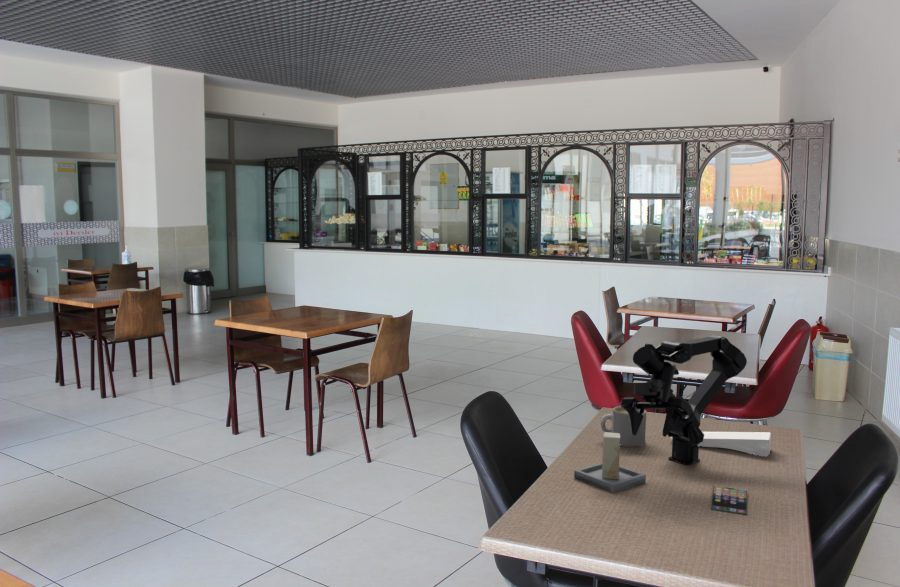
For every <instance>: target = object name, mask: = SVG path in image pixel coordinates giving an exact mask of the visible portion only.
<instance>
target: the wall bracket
mask: <svg viewBox="0 0 900 587" xmlns="http://www.w3.org/2000/svg"><path fill="white" fill-rule="evenodd" d="M701 431H702V430H701ZM702 433H703V434H704V438H703V442H700V444H698V447H700V446H702V447H703V448H705V447H706V448H721V449H728V450H734V451H738V452H743V453H745V454H749V455H752V454H753V455H752V456H757V455H759V456H758V457H763V456H765V457H764V458H766V457H768V456H769V455H770V452H771V448H772V434H771V432H769V431H768V432H764V431H763V432H762V431H760V432H759V431H757V432H755V431H702ZM669 438H670V439H669V440H670V442H671V441H673V437H669ZM702 447H701V448H702Z"/></svg>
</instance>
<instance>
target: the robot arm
mask: <svg viewBox="0 0 900 587" xmlns="http://www.w3.org/2000/svg"><path fill="white" fill-rule="evenodd" d="M708 353H709V354H710V357H712V361H711V364H712V365H711V366H712V369H711V371H710V372H709V373H708V375H707V376H706V377H705V378H704V380H703V381H702V382H701V384H700V385H699V386H698V388H697V389H696V390H695V391H694V393H693V394H692V395H691V396H690V397H689V399H688V401H687V400H686V399H685V398H683V396H670V394H671V395H673V394H674V390H673V388H672V385H673V380H674V376H678V375H679V374H680V371H679V370H678V368H677V367H676V364H678V365H679V364H680V365H682V364H684V363H686V362H688V361H690V360H691V359H692V357H694V356H698V355H699V356H700V355H703V354H708ZM632 362H633V363H634V364H635V365H636V366H637V367H639V368H640V369H641V370H642V371H643V372H645V373H646V374H647V375H650V379H649V380H648V381H646V382H633V383H634V385H633V395H634V396H640V398H641V399H642V400H644V401H640V400H639V399H637V398H636V397H633V396H632V397H624V398H622V399H621V401H620V405H619V406H621V407H622V408H623V409H624V410H626V411H627V412H628V413H629V416H630V420H631V428H632V434H633V435H634V436H635V435H636V434H637V432H638V429H639V427H640V424H641V422H642V419H643V417H644V416H643V415H642V413H644V410H665V419H664V422H663V423H664V424H663V428H662V436H663V437H664V438H665V437H667V436H668V437H669V438H671V437H673V441H672V442H671V444H672V445H671V446H672V447H671V455H670V456H669V457H668V458H667V459H668V460H670V461H673V462H677V463H679V464H682V465H686V466H689V465H692V464H695V463H698V462H700V461H701V459H700V458H699V452H700V451H699V450H700V446H698V444H700V442H703V438H704V434H703V433H702V430H701V428H700V426H701V416H702V414H703V413H704V412H705V410H706V408H708V406H709V405H710V403H711V402H712V401H713V399H714V398H715V396H717V394H718V392H720V390H721V389H722V387H723V386H724V385H725V383H726V382H727V381H728V380H729V379H732V378H734V377H735V378H736V376H738V375H739V374H740V373H742V371H743V370H744V369H745V367H746V366H747V363H748V361H747V358H746V355H745V353H744V352H742V350H740V348H738V347H737V346H735V345H734V344H732V343H731V342H730V340H729V338H726V336H721V335H720V336H719V335H715V334H713V335H712V334H711V335H709V336H706V337H702V338H696V339H689V340H685V341H681V340H671V339H665V340H663V341H661V344H659V345H657V346H656V347H655V346H654V345H653V344H652V343H647V342H646V343H645V344H644V346H642V347H639V348H638V349H636V351H635V352H634V353H633V355H632ZM672 363H673V364H672Z"/></svg>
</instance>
